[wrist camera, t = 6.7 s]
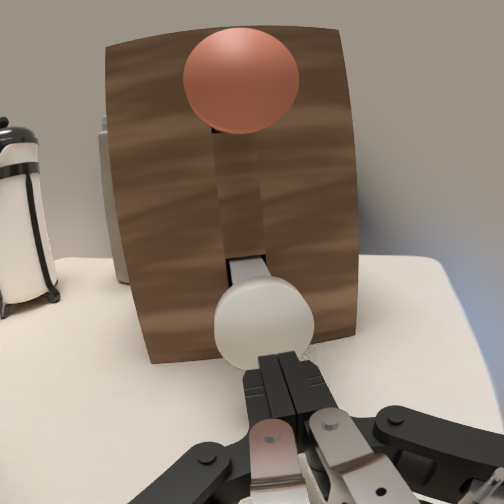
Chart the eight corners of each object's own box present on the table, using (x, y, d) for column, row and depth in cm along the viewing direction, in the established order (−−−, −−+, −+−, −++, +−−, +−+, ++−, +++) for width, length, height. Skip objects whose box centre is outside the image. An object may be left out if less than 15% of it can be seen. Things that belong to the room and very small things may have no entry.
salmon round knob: (304, 126, 12) (292, 27, 11) (187, 136, 12) (180, 33, 11) (260, 147, 25) (254, 92, 24) (201, 153, 25) (196, 98, 23)
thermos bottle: (116, 265, 49) (99, 98, 38) (160, 258, 52) (149, 92, 41) (116, 287, 42) (94, 92, 31) (167, 278, 45) (153, 85, 34)
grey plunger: (313, 364, 16) (313, 279, 14) (222, 378, 15) (207, 293, 14) (271, 279, 29) (266, 226, 27) (217, 286, 28) (210, 233, 27)
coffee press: (89, 282, 46) (65, 104, 38) (23, 325, 31) (-13, 99, 23) (33, 280, 50) (10, 133, 41) (-24, 311, 34) (-54, 138, 26)
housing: (355, 334, 26) (338, 29, 19) (151, 363, 24) (105, 47, 17) (310, 281, 39) (295, 75, 32) (170, 298, 37) (143, 88, 30)
